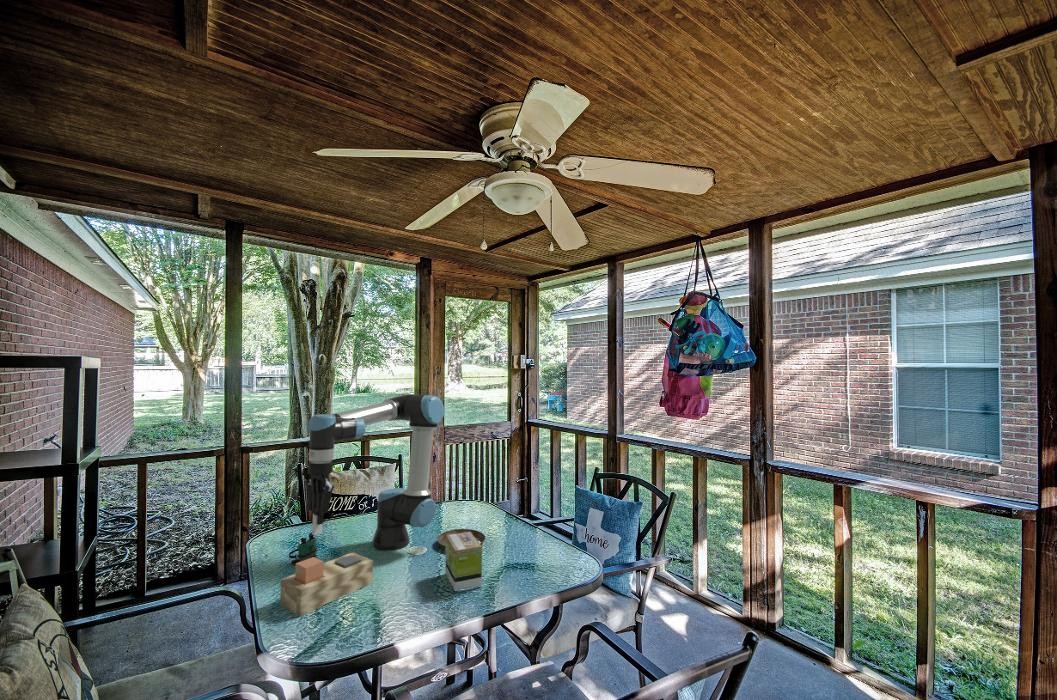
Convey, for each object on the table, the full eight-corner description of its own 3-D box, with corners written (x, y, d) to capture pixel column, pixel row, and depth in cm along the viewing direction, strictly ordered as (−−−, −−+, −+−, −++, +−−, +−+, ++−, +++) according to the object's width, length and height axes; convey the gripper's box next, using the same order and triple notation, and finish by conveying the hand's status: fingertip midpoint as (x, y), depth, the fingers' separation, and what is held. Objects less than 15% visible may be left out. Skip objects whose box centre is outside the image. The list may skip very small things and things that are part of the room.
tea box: (444, 574, 167) (445, 534, 168) (470, 569, 171) (471, 530, 172) (454, 593, 154) (455, 549, 154) (482, 588, 157) (483, 545, 158)
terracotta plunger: (312, 581, 150) (313, 556, 151) (322, 586, 147) (323, 561, 147) (294, 588, 146) (295, 563, 146) (305, 594, 142) (305, 568, 142)
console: (351, 574, 166) (352, 552, 166) (372, 583, 159) (373, 560, 160) (280, 604, 145) (281, 579, 145) (300, 616, 138) (301, 590, 138)
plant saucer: (494, 548, 193) (494, 540, 193) (450, 559, 181) (450, 551, 181) (471, 532, 209) (471, 525, 209) (429, 542, 197) (429, 534, 198)
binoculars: (298, 531, 181) (320, 531, 179) (299, 558, 181) (321, 558, 179) (282, 539, 172) (304, 539, 171) (283, 567, 172) (306, 568, 170)
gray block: (349, 577, 162) (350, 555, 162) (359, 582, 159) (360, 559, 159) (334, 584, 157) (334, 561, 157) (344, 589, 154) (345, 565, 154)
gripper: (299, 460, 150) (295, 532, 149) (321, 465, 143) (317, 541, 142) (320, 457, 157) (316, 526, 155) (342, 462, 149) (339, 534, 148)
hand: (317, 533), depth 149 cm, fingers closed
